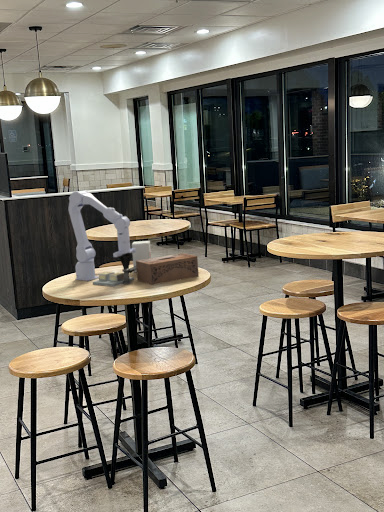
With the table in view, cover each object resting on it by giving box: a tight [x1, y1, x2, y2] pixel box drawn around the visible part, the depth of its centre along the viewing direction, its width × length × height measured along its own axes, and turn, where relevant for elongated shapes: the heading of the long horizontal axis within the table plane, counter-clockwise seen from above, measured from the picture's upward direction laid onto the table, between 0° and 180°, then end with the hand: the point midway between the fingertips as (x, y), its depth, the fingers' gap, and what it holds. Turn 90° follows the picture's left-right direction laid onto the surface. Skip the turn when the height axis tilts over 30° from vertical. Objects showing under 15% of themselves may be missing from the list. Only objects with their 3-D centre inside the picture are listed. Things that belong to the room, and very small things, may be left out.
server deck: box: [92, 272, 135, 287], centre depth 306 cm, size 18×14×6 cm
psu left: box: [98, 271, 116, 281], centre depth 309 cm, size 5×6×3 cm
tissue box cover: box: [136, 252, 200, 286], centre depth 307 cm, size 26×14×10 cm, turn 121°
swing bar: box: [121, 266, 137, 274], centre depth 308 cm, size 18×4×2 cm, turn 159°
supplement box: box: [131, 240, 152, 273], centre depth 331 cm, size 9×9×15 cm
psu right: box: [109, 272, 124, 282], centre depth 305 cm, size 5×6×3 cm
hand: (126, 269), depth 313 cm, fingers closed
